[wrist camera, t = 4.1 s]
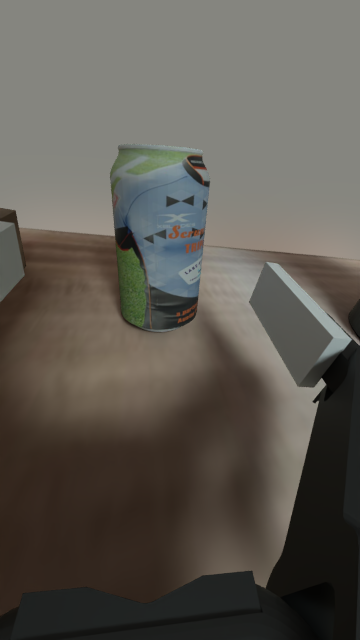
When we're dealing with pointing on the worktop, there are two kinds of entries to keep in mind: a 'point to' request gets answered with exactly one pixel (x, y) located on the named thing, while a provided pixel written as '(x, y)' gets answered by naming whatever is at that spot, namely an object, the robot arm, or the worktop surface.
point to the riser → (11, 217)
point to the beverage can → (159, 232)
